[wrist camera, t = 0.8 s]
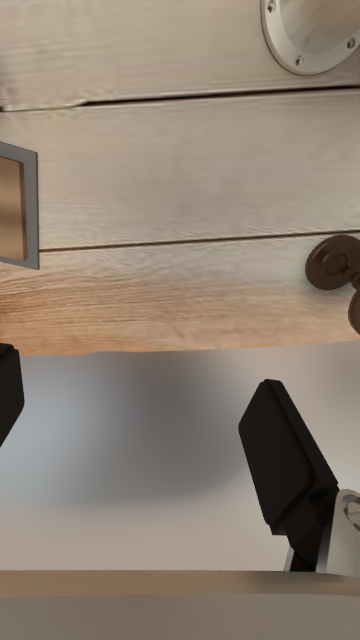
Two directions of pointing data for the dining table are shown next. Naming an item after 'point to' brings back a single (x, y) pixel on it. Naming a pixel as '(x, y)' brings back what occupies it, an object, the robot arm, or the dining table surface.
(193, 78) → the dining table surface
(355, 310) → the candlestick
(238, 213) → the dining table surface
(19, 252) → the lid
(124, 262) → the dining table surface
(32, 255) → the mat
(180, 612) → the robot arm
